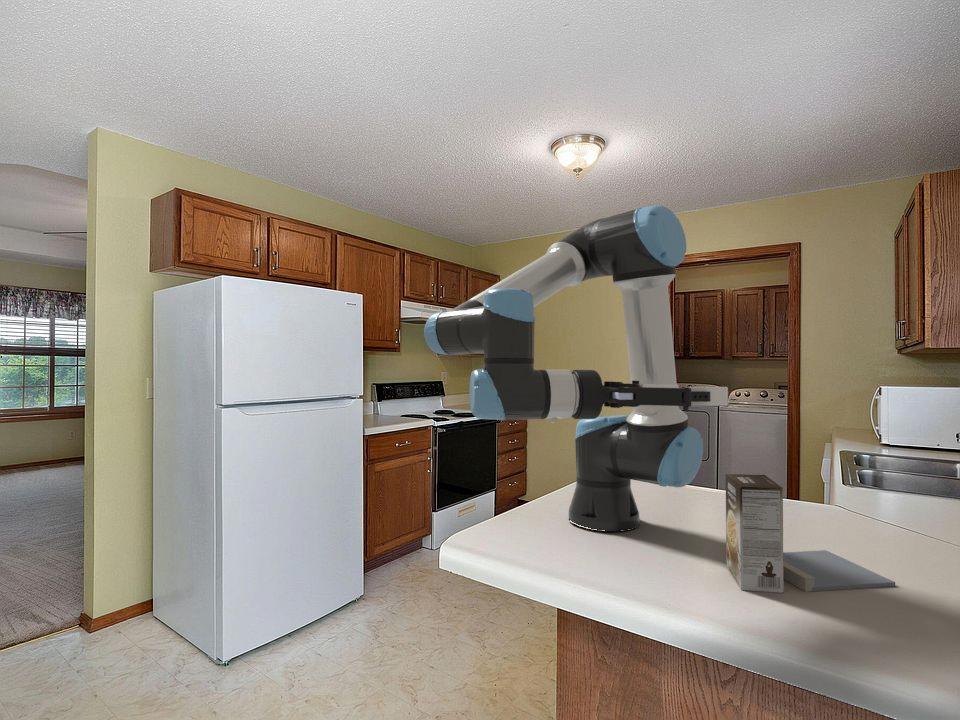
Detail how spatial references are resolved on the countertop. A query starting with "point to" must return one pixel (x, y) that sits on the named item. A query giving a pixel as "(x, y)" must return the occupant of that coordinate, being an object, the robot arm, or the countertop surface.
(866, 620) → the countertop surface
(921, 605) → the countertop surface
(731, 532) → the coffee box
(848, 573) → the mat
